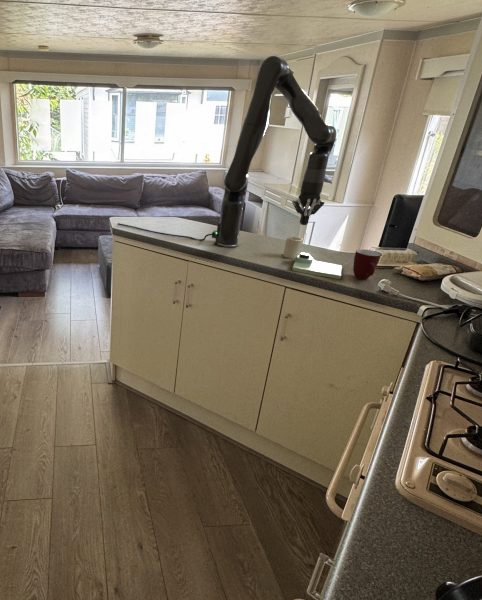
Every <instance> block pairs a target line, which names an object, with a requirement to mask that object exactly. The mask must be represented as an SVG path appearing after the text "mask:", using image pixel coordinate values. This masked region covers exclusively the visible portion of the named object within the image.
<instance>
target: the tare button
mask: <svg viewBox="0 0 482 600" xmlns="http://www.w3.org/2000/svg"><path fill="white" fill-rule="evenodd" d="M299 255H300V258H304V259H309V257H310V256H311V254H310V253H309V252H300V254H299Z"/></svg>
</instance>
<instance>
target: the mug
mask: <svg viewBox="0 0 482 600" xmlns="http://www.w3.org/2000/svg"><path fill="white" fill-rule="evenodd" d="M381 256H382V254H381V253H380V252H378V251H374V250H370V249H363V248H359V249H356V250H355V253H354V256H353V266H352V267H353V268H352V270H353V271H352V272H353V275H354V277H355V279H357V280H362V281H366V280H368V279H369V278H370V277H372V276H374V274H375V271H376V268H377V266H378V264H379V262H380V260H381Z"/></svg>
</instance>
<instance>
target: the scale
mask: <svg viewBox="0 0 482 600" xmlns="http://www.w3.org/2000/svg"><path fill="white" fill-rule="evenodd" d="M291 271H293V272H297V273H304V274H308V275H313V276H319V277H326V278H330V279H337V280H341V279H342V271H343V265H342V264H336V263H330V262H325V261H319V260H314V257H312V256H311V255H310V257H309V259H304V258H300V254H299V255H296V257H295V259H294V263H293V265H292V268H291Z"/></svg>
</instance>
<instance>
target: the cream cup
mask: <svg viewBox="0 0 482 600" xmlns="http://www.w3.org/2000/svg"><path fill="white" fill-rule="evenodd" d="M303 240H304V239H303V238H301V237H298V236H295V235H294V236H292V235H290V236H289V235H288V236H287V237H286V240H285V244H284V250H283V253H282V254H283V255H282V256H283V257H284V258H286V259H290V260H295V257H296V255H300V253H301V249H302V246H303V245H302V244H303Z"/></svg>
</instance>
